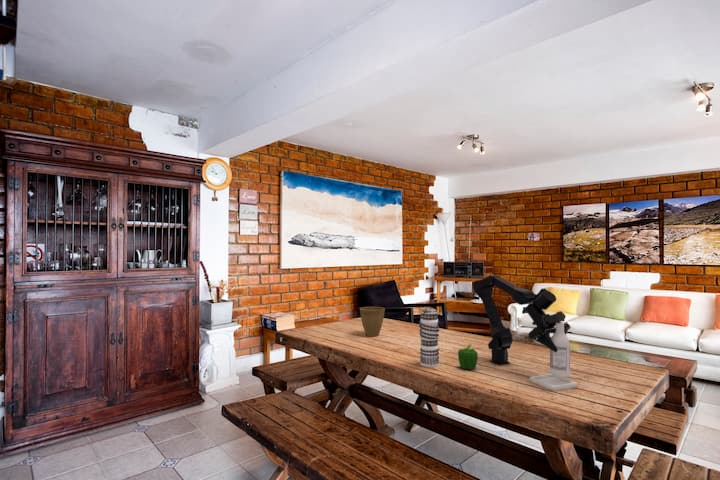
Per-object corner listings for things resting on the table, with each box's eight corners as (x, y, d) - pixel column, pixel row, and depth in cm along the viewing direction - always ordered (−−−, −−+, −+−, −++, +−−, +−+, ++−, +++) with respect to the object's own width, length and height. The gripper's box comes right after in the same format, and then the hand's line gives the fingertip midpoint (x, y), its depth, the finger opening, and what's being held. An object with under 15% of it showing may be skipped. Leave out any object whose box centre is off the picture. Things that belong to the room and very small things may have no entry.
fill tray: (553, 391, 147) (552, 386, 147) (529, 380, 158) (529, 376, 158) (577, 387, 151) (577, 382, 151) (552, 377, 162) (552, 373, 162)
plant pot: (385, 338, 229) (385, 310, 229) (359, 338, 229) (359, 310, 230) (384, 332, 244) (384, 306, 244) (360, 332, 244) (359, 306, 244)
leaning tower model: (427, 359, 187) (426, 306, 187) (444, 364, 180) (443, 308, 181) (415, 364, 181) (414, 308, 181) (432, 368, 174) (431, 311, 174)
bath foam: (557, 370, 160) (557, 320, 160) (573, 375, 154) (573, 323, 153) (546, 372, 156) (546, 321, 156) (562, 378, 150) (562, 325, 150)
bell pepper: (468, 372, 169) (468, 348, 169) (454, 367, 176) (454, 344, 176) (482, 368, 173) (482, 345, 173) (468, 364, 180) (467, 341, 180)
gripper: (534, 306, 154) (560, 342, 144) (566, 302, 162) (592, 336, 153) (518, 323, 161) (541, 357, 151) (549, 318, 170) (573, 351, 160)
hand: (563, 350), depth 154 cm, fingers closed on bath foam, 7 cm apart
